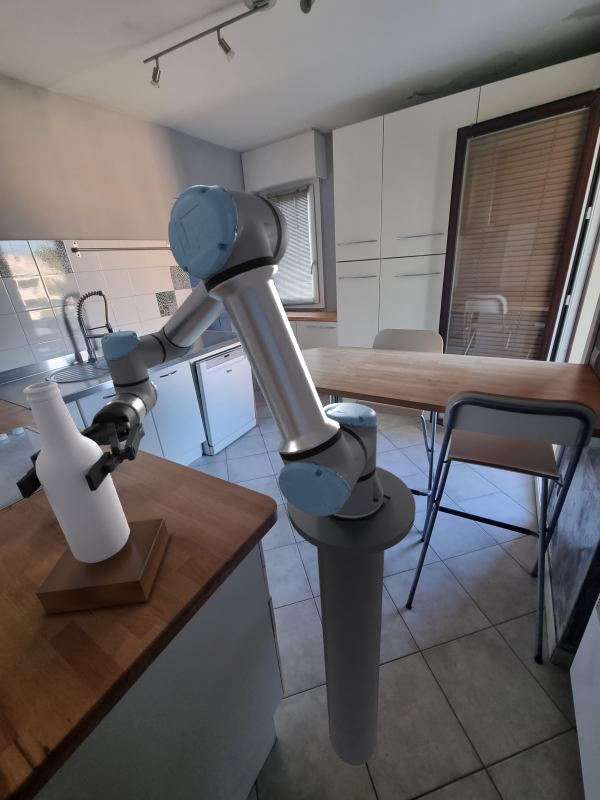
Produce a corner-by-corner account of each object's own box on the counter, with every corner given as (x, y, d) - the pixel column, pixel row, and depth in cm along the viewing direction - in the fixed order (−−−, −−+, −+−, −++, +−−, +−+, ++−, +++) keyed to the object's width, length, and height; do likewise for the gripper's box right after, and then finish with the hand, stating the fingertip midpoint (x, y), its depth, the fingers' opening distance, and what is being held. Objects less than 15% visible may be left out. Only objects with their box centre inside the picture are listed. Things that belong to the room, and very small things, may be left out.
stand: (169, 536, 68) (163, 517, 66) (146, 601, 55) (139, 580, 53) (88, 546, 67) (80, 527, 65) (46, 614, 54) (35, 593, 52)
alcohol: (88, 574, 53) (10, 402, 41) (66, 549, 58) (-8, 390, 46) (140, 538, 59) (86, 380, 47) (116, 519, 64) (62, 371, 52)
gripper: (176, 429, 71) (139, 499, 50) (72, 439, 70) (-11, 515, 49) (168, 396, 68) (125, 457, 47) (59, 407, 67) (-34, 473, 46)
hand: (56, 486), depth 48 cm, fingers closed on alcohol, 9 cm apart
